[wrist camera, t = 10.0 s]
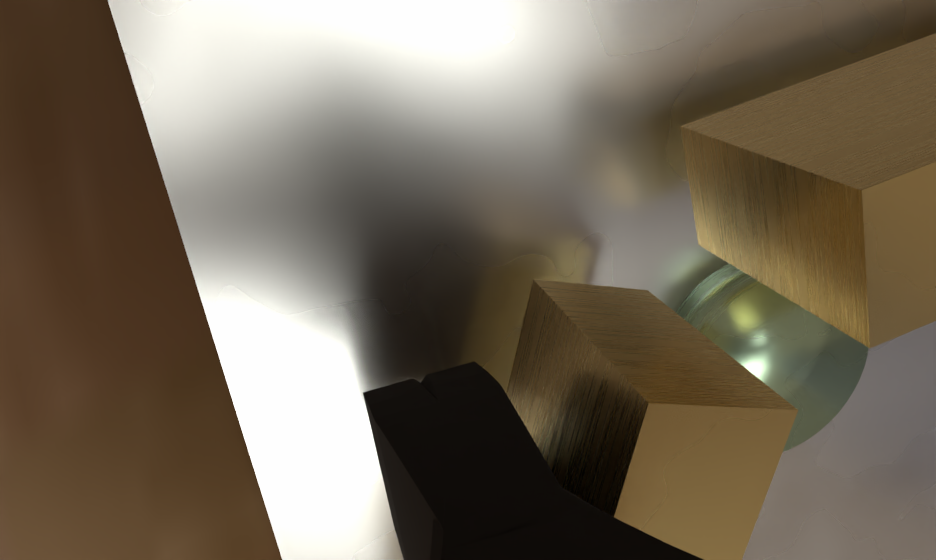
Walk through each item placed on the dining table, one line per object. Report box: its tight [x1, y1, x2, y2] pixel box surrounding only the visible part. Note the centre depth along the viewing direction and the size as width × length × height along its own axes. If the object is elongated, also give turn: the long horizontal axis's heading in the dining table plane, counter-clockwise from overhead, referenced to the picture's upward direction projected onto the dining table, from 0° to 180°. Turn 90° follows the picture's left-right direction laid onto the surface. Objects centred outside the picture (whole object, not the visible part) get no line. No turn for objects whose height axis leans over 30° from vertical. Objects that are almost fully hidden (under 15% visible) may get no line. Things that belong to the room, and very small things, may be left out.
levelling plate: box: [108, 0, 936, 560], centre depth 12 cm, size 15×15×2 cm
